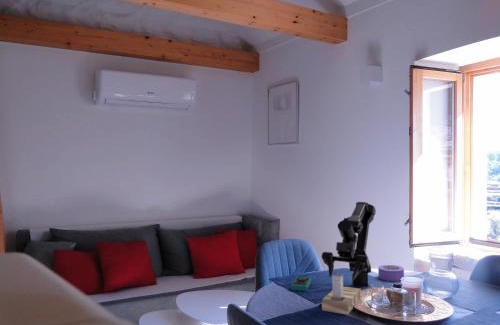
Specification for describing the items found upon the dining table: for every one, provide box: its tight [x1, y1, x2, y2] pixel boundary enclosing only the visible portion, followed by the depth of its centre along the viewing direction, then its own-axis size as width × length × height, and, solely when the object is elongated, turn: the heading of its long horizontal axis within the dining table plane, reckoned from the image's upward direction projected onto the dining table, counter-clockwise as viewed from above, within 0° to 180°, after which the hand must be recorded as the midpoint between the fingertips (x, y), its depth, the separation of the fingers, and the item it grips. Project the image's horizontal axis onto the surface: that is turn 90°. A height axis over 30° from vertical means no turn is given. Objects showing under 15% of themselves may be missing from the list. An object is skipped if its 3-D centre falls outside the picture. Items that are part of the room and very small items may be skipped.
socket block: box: [321, 286, 362, 315], centre depth 168 cm, size 20×10×4 cm, turn 151°
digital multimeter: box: [290, 276, 312, 292], centre depth 193 cm, size 7×15×3 cm, turn 163°
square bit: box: [331, 273, 344, 301], centre depth 164 cm, size 3×3×13 cm
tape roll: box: [377, 264, 405, 282], centre depth 204 cm, size 12×12×5 cm
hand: (341, 278), depth 168 cm, fingers open, 9 cm apart
